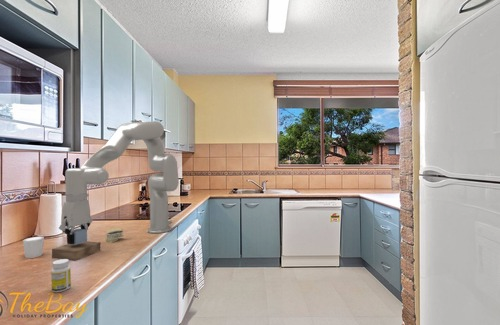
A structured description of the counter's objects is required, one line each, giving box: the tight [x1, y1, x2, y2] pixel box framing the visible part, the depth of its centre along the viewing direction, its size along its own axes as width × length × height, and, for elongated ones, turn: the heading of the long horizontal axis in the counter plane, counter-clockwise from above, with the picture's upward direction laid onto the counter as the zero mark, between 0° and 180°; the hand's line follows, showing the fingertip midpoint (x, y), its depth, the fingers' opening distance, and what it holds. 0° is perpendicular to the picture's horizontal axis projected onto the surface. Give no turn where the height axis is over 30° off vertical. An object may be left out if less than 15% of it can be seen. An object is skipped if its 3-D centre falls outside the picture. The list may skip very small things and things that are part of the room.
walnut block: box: [51, 240, 102, 262], centre depth 112 cm, size 12×12×4 cm
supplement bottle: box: [50, 259, 72, 293], centre depth 81 cm, size 5×5×8 cm
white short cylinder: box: [22, 236, 45, 259], centre depth 111 cm, size 7×7×7 cm
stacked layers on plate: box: [105, 227, 124, 244], centre depth 131 cm, size 10×9×6 cm
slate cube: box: [73, 228, 88, 245], centre depth 112 cm, size 5×5×5 cm
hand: (77, 241), depth 112 cm, fingers closed on slate cube, 5 cm apart
